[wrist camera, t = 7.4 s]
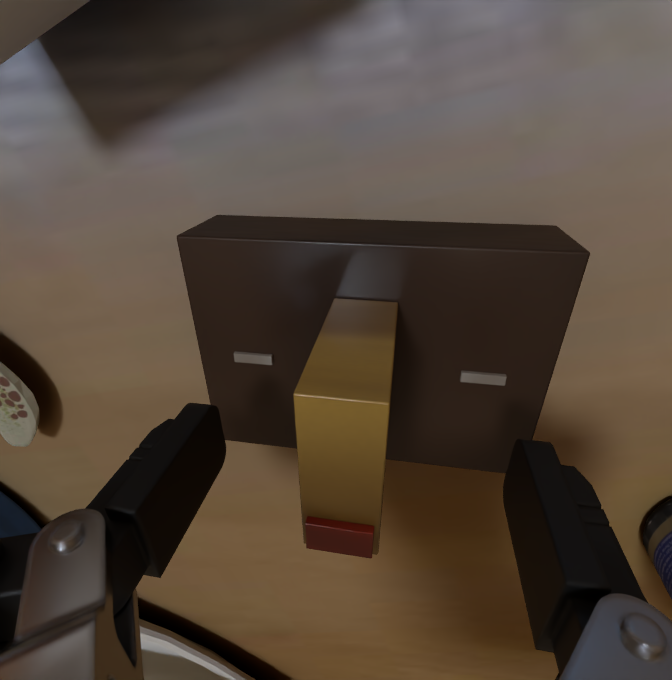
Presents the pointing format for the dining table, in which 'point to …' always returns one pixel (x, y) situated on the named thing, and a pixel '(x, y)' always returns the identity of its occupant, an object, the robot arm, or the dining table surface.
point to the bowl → (14, 519)
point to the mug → (30, 21)
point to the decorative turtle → (17, 409)
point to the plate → (181, 658)
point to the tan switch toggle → (346, 427)
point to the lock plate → (411, 331)
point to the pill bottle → (660, 542)
